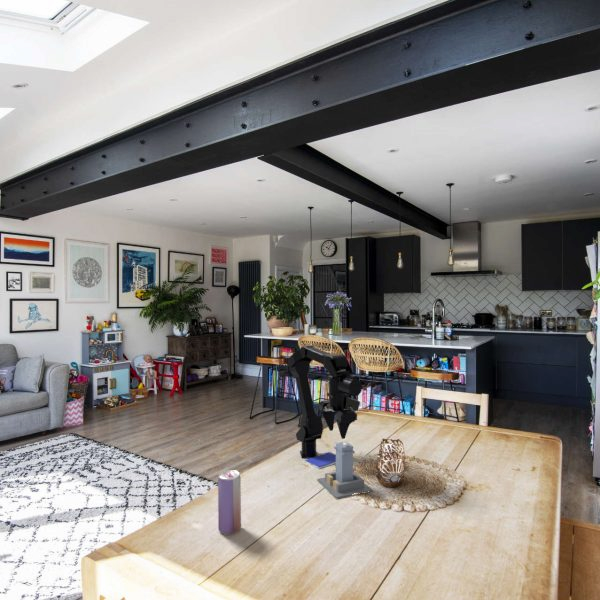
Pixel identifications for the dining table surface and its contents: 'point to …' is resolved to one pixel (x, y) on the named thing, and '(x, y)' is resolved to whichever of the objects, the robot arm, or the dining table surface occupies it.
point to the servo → (344, 462)
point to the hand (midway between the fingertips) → (337, 434)
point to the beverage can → (229, 502)
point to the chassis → (343, 485)
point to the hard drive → (322, 460)
